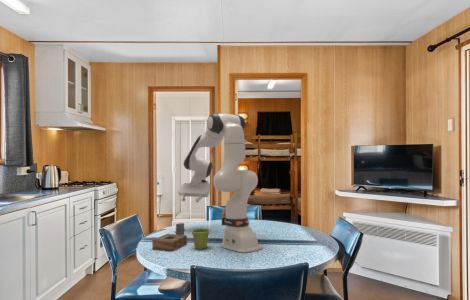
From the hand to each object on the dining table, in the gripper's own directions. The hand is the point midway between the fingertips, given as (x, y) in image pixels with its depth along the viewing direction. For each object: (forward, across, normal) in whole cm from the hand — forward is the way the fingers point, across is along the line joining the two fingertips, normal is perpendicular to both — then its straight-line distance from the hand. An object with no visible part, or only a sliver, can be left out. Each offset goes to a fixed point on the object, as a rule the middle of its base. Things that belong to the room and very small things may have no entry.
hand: (189, 201), depth 198 cm
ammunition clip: (-8, +14, +35) cm, 39 cm away
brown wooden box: (+35, +5, -8) cm, 36 cm away
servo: (+23, 0, +4) cm, 23 cm away
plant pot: (+33, +21, -6) cm, 39 cm away
